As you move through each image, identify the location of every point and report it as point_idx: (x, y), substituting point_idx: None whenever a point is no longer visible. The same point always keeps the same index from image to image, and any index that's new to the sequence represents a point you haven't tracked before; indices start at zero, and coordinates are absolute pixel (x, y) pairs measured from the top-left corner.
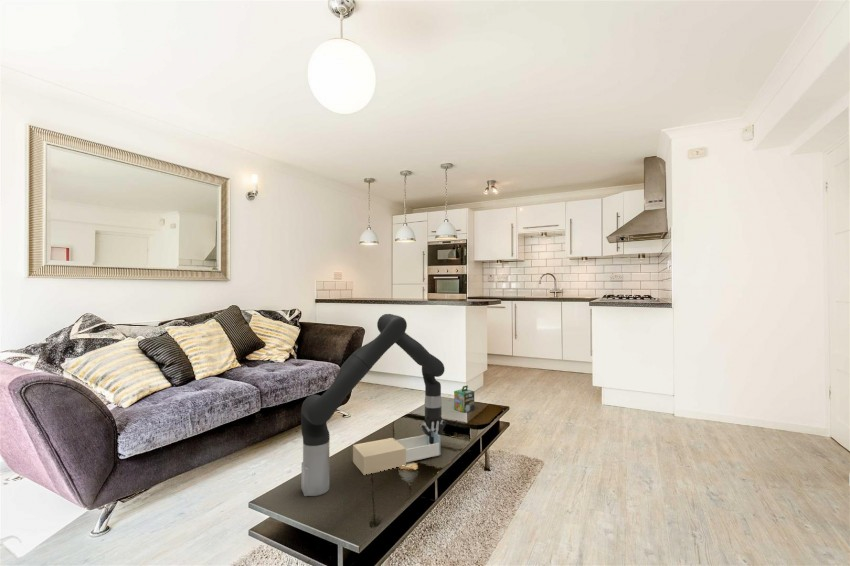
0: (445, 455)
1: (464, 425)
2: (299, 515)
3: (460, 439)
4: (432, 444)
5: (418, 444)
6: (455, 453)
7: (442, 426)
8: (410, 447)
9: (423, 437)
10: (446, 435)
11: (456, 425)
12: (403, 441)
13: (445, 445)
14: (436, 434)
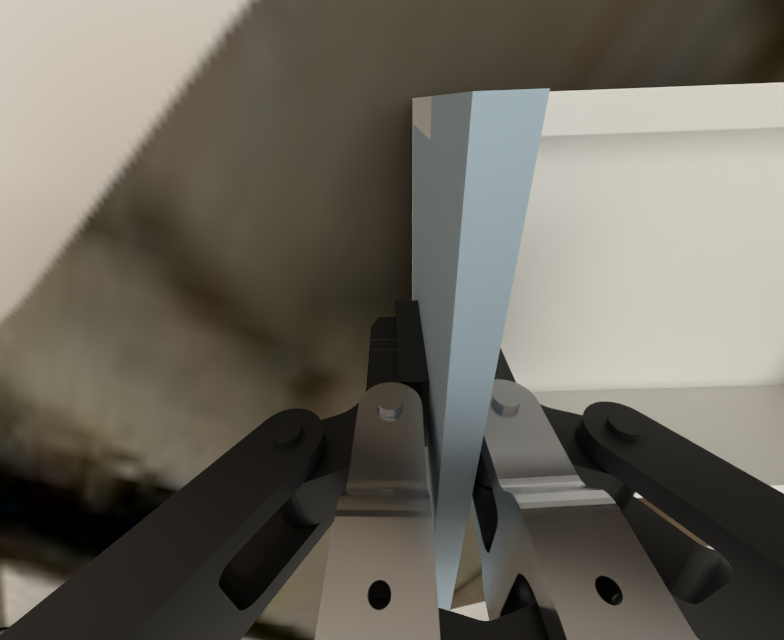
0: (322, 118)
1: (20, 549)
2: None
3: (60, 411)
4: (684, 91)
5: None
6: (162, 117)
7: (113, 635)
8: (612, 395)
9: None
10: (176, 489)
11: (79, 559)
12: (757, 459)
13: (232, 361)
14: (501, 334)
